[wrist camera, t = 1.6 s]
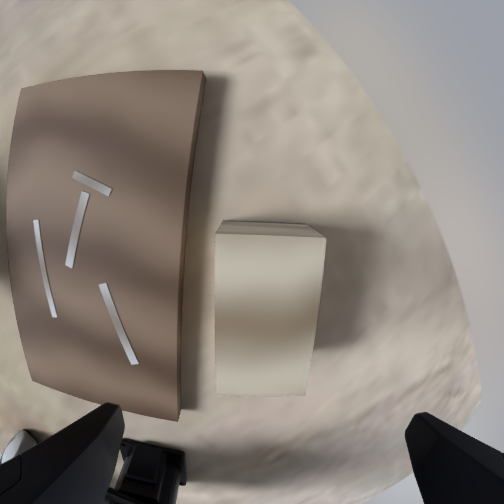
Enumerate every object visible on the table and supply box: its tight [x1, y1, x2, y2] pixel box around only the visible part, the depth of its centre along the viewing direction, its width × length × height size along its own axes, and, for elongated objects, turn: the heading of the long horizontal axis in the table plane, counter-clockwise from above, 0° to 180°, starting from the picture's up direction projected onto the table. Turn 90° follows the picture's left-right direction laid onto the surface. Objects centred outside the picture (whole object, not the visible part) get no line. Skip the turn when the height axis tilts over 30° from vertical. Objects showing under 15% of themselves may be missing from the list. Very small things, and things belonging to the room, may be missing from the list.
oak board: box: [6, 70, 206, 422], centre depth 17 cm, size 24×14×2 cm, turn 173°
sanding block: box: [215, 221, 326, 396], centre depth 17 cm, size 9×5×5 cm, turn 178°
